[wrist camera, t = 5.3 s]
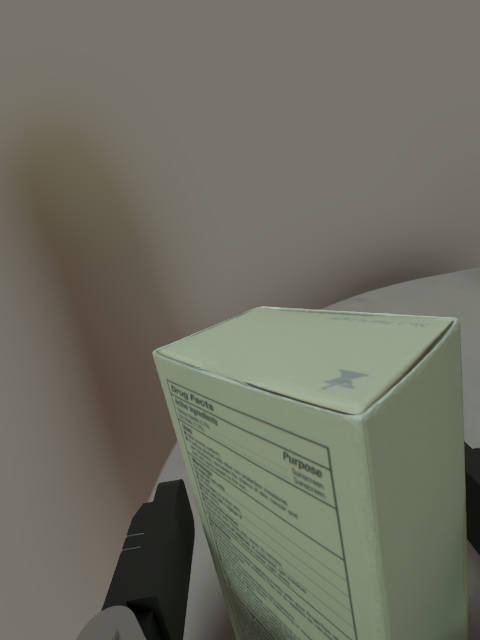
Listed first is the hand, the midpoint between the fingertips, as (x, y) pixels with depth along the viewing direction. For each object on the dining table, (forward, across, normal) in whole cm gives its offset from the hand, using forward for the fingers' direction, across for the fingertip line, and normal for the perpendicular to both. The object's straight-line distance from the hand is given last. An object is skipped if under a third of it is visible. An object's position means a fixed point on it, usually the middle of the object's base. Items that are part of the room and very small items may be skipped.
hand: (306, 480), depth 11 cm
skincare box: (-2, 0, +7) cm, 7 cm away
